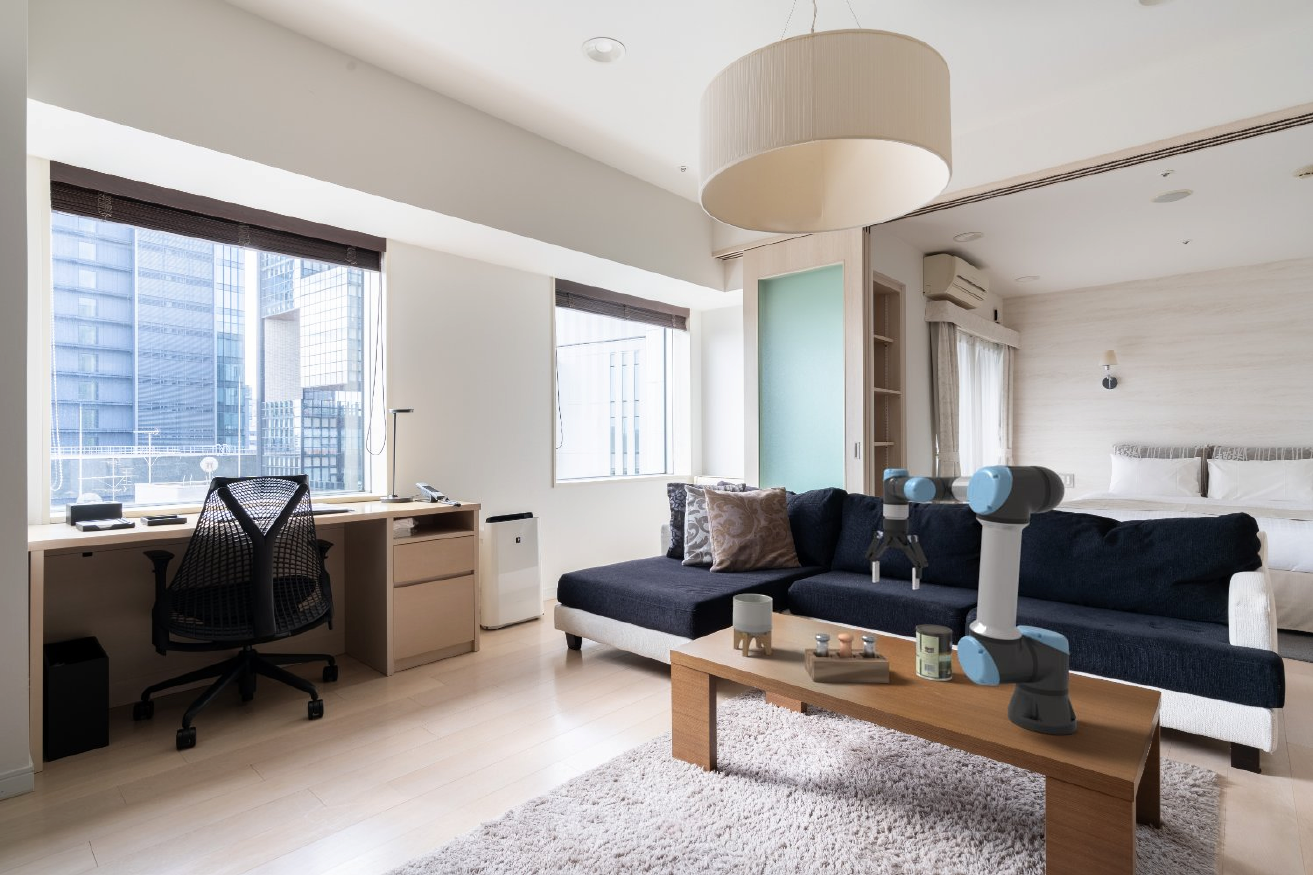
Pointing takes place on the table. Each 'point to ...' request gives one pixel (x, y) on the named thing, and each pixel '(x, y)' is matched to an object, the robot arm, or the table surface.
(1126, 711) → the table surface
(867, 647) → the grey plug
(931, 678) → the coffee can
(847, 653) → the terracotta plug
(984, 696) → the table surface
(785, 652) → the table surface
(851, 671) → the wooden slotted block
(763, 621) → the planter
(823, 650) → the grey plug
